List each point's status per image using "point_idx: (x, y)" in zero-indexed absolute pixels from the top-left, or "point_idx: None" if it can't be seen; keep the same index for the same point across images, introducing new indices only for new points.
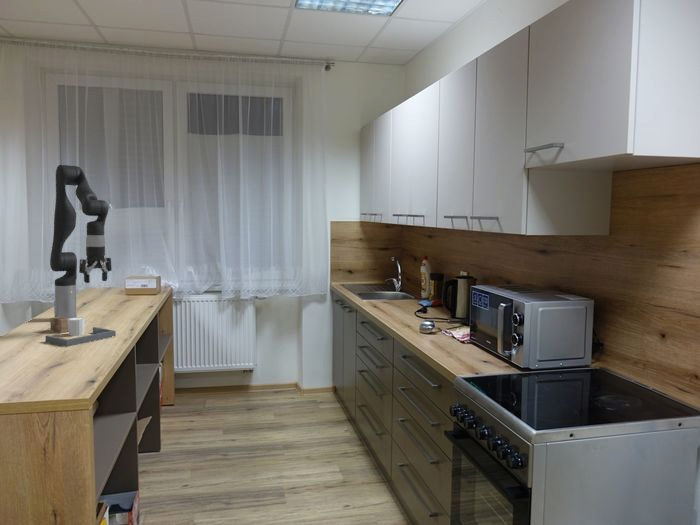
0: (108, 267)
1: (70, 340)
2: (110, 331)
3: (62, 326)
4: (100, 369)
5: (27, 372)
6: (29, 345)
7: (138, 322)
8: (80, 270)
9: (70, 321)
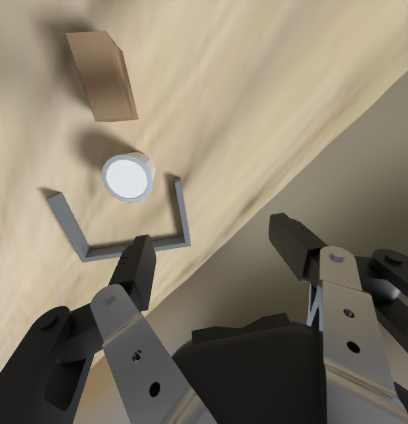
0: (384, 316)
1: (91, 259)
2: (180, 246)
3: (108, 121)
4: (96, 354)
5: (14, 335)
6: (17, 202)
7: (316, 141)
8: (35, 348)
9: (108, 187)
